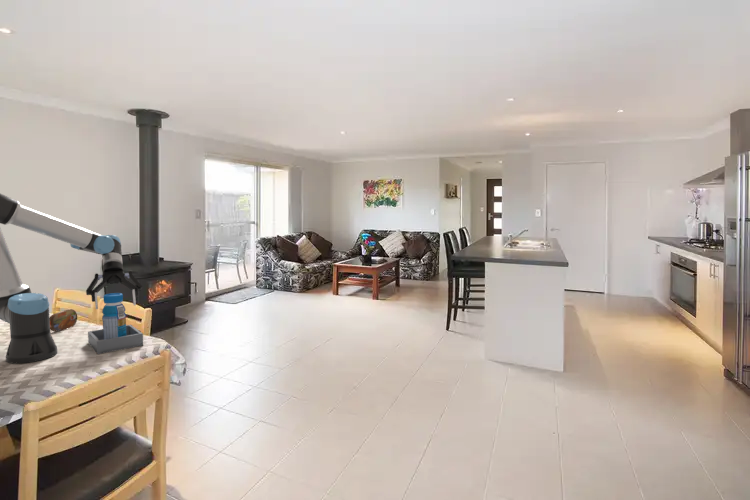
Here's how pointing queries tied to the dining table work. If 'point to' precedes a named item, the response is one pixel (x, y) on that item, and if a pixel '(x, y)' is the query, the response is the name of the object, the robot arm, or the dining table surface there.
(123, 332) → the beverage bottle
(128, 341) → the tray
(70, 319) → the tin
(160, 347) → the dining table surface
